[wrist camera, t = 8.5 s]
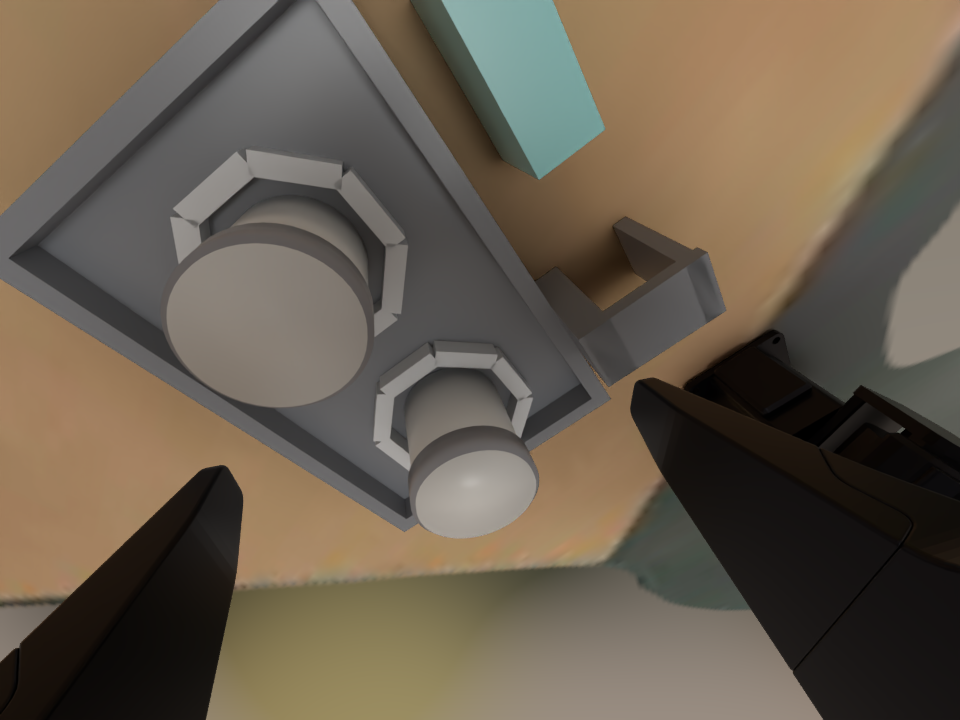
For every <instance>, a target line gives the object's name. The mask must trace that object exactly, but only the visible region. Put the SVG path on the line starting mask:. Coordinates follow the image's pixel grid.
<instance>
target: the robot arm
mask: <svg viewBox="0 0 960 720" xmlns="http://www.w3.org/2000/svg"><path fill="white" fill-rule="evenodd" d="M853 394H854V395H853V396H852V397H851V398H850V399H849V400H848V401H847V402H846V403H844V402H843V401H841V400H840V399H838V398H837V397H835V396H834V395H832V394H831V393H829V392H828V391H826V390H825V389H823V388H822V387H820V386H819V385H817V384H816V383H814V382H813V381H811V380H810V379H808V378H807V377H805V376H804V375H802V374H801V373H799V372H798V371H796V370H795V369H793V368H791V365H790V361H789V356H788V352H787V347H786V343H785V338H784V335H783V334H782V333H780V332H778V331H776V330H773V331H771V332H769V333H767V334H766V335H764V336H763V337H761V338H759V339H758V340H756V341H755V342H753V343H751V344H750V345H748V346H747V347H745V348H743V349H742V350H740V351H739V352H737V353H736V354H734V355H732V356H731V357H729V358H728V359H726V360H724V361H723V362H721V363H720V364H718V365H716V366H715V367H713V368H712V369H710V370H709V371H707V372H705V373H704V374H702V375H701V376H699V377H697V378H696V379H694V380H693V381H691V382H689V383H688V384H687V385H686V386H685V389H684V390H682V389H680V388H678V387H675V386H673V385H671V384H668V383H666V382H663V381H661V380H659V379H656V378H647V379H642V380H638V381H637V382H636V383H635V385H634V390H633V395H632V401H631V407H630V410H631V415H632V418H633V420H634V422H635V424H636V426H637V427H638V429H639V431H640V433H641V435H642V437H643V439H644V441H645V443H646V445H647V447H648V449H649V451H650V453H651V455H652V457H653V459H654V460H655V462H656V464H657V466H658V468H659V470H660V471H661V473H662V475H663V476H664V478H665V479H666V481H667V482H668V484H669V486H670V487H671V489H672V490H673V492H674V493H675V495H676V496H677V498H678V499H679V501H680V502H681V504H682V505H683V507H684V508H685V510H686V511H687V513H688V514H689V516H690V517H691V519H692V520H693V522H694V523H695V525H696V527H697V528H698V530H699V531H700V533H701V534H702V536H703V537H704V539H705V540H706V542H707V543H708V545H709V546H710V548H711V549H712V551H713V552H714V554H715V555H716V557H717V558H718V560H719V561H720V563H721V564H722V566H723V568H724V569H725V571H726V572H727V574H728V575H729V577H730V578H731V580H732V581H733V583H734V584H735V586H736V587H737V589H738V590H739V592H740V593H741V595H742V596H743V598H744V599H745V601H746V602H747V604H748V605H749V607H750V608H751V610H752V612H753V613H754V615H755V616H756V618H757V619H758V621H759V622H760V624H761V625H762V627H763V628H764V630H765V631H766V633H767V634H768V636H769V637H770V639H771V640H772V642H773V643H774V645H775V646H776V648H777V649H778V651H779V653H780V654H781V656H782V657H783V658H784V660H785V662H786V663H787V665H788V666H789V667H790V669H791V670H793V674H794V676H795V677H796V679H797V680H798V682H799V683H800V685H801V686H802V688H803V689H804V691H805V692H806V694H807V696H808V697H809V698H810V700H811V702H812V703H813V704H814V706H815V708H816V709H817V711H818V712H819V714H820V715H821V717H822V718H823V720H960V438H958V437H957V436H955V435H954V434H952V433H951V432H949V431H947V430H945V429H944V428H942V427H940V426H939V425H937V424H935V423H933V422H932V421H930V420H928V419H926V418H925V417H923V416H921V415H920V414H918V413H916V412H914V411H913V410H911V409H909V408H907V407H906V406H904V405H902V404H900V403H898V402H896V401H894V400H891V399H889V398H887V397H885V396H883V395H881V394H879V393H877V392H875V391H873V390H871V389H869V388H866V387H864V386H862V385H861V386H860V387H858V388H857V389H856V390H855V391H854V392H853ZM902 427H904V428H905V430H904V431H903V432H901V433H896V432H897V431H898V430H899V429H900V428H902ZM242 511H243V494H242V491H241V489H240V487H239V486H238V484H237V482H236V480H235V479H234V477H233V475H232V474H231V472H230V470H229V469H228V468H227V467H226V466H224V465H219V466H214V467H209V468H205V469H202V470H200V471H199V472H198V473H197V474H196V475H195V476H194V477H193V478H192V479H191V480H190V481H189V482H188V483H187V484H186V485H184V486H183V487H182V488H181V489H180V490H179V491H178V492H177V493H176V494H175V495H174V496H173V497H172V498H171V499H170V500H169V501H168V502H167V503H166V504H165V505H164V506H163V507H162V508H161V509H160V510H158V511H157V512H156V513H155V514H154V515H153V516H152V517H151V518H150V519H149V520H148V521H147V522H146V523H145V524H144V525H143V526H142V527H141V528H140V529H139V530H138V531H137V532H136V533H135V534H133V535H132V536H131V537H130V538H129V539H128V540H127V541H126V542H125V543H124V544H123V545H122V546H121V547H120V548H119V549H118V550H117V551H116V552H115V553H114V554H113V555H112V556H111V557H110V558H108V559H107V560H106V561H105V562H104V563H103V564H102V565H101V566H100V567H99V568H98V569H97V570H96V571H95V572H94V573H93V574H92V575H91V576H90V577H89V578H88V579H87V580H86V581H85V582H84V583H82V584H81V585H80V586H79V587H78V588H77V589H76V590H75V591H74V592H73V593H72V594H71V595H70V596H69V597H68V598H67V599H66V600H65V601H64V602H63V603H62V604H61V605H60V606H59V607H57V608H56V609H55V610H54V611H53V612H52V613H51V614H50V615H49V616H48V617H47V618H46V619H45V620H44V621H43V622H42V623H41V624H40V625H39V626H38V627H37V628H36V629H35V630H33V631H32V632H31V633H30V634H29V635H28V636H27V637H26V638H25V639H24V640H23V641H22V642H21V643H20V646H19V648H15V649H14V650H13V651H11V652H10V653H9V655H7V656H6V657H5V658H4V659H3V660H2V661H1V662H0V720H206V716H207V712H208V707H209V702H210V698H211V693H212V688H213V683H214V679H215V674H216V669H217V665H218V660H219V655H220V650H221V646H222V641H223V636H224V631H225V627H226V622H227V617H228V612H229V608H230V603H231V599H232V594H233V589H234V584H235V579H236V573H237V565H238V555H239V544H240V533H241V522H242Z"/></svg>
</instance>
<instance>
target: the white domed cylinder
mask: <svg viewBox="0 0 960 720" xmlns="http://www.w3.org/2000/svg"><path fill="white" fill-rule="evenodd" d="M160 315H161V322H162V328H163V331H164V334H165V337H166V340H167V342H168V344H169V346H170V348H171V350H172V351H173V353H174V354H175V356H176V357H177V359H178V360H179V361H180V362H181V364H182V365H183V366H184V367H185V368H186V369H187V370H188V371H189V372H190V373H191V374H192V375H193V376H194V377H195V378H196V379H198V380H199V381H201V382H202V383H203V384H205V385H206V386H208V387H209V388H211V389H213V390H214V391H216V392H218V393H220V394H222V395H224V396H226V397H229V398H231V399H234V400H237V401H239V402H242V403H246V404H250V405H254V406H260V407H267V408H296V407H303V406H308V405H312V404H316V403H319V402H321V401H324V400H327V399H329V398H331V397H333V396H335V395H337V394H338V393H340V392H342V391H343V390H345V389H346V388H347V387H348V386H350V385H351V384H352V383H353V382H354V381H355V380H356V379H357V378H358V377H359V375H360V374H361V373H362V371H363V370H364V368H365V367H366V365H367V363H368V361H369V359H370V356H371V353H372V349H373V345H374V306H373V300H372V296H371V293H370V290H369V287H368V257H367V252H366V248H365V245H364V243H363V240H362V238H361V236H360V235H359V233H358V231H357V230H356V228H355V227H354V226H353V225H352V223H351V222H350V221H349V220H348V219H347V218H346V217H345V216H344V215H342V214H341V213H340V212H339V211H337V210H336V209H334V208H333V207H331V206H329V205H328V204H325V203H323V202H321V201H319V200H316V199H313V198H309V197H305V196H298V195H281V196H276V197H271V198H268V199H265V200H263V201H261V202H259V203H257V204H255V205H254V206H252V207H251V208H250V209H248V210H247V211H246V212H245V213H244V214H243V215H242V216H241V217H240V218H239V219H238V220H237V221H236V222H235V223H234V224H233V225H232V226H231V227H230V228H228V229H225V230H222V231H220V232H218V233H216V234H214V235H212V236H211V237H209V238H208V239H206V240H205V241H204V242H202V243H201V244H200V245H199V246H198V247H197V248H195V249H194V250H193V251H192V252H191V253H190V254H189V255H188V256H187V257H186V258H184V259H183V261H182V262H181V263H180V264H179V265H178V266H177V267H176V268H175V269H174V271H173V272H172V274H171V275H170V277H169V278H168V280H167V283H166V285H165V287H164V290H163V294H162V299H161V310H160Z"/></svg>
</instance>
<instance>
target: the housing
mask: <svg viewBox="0 0 960 720" xmlns="http://www.w3.org/2000/svg"><path fill="white" fill-rule="evenodd" d="M281 195H298V196H305V197H309V198H313V199H316V200H319V201H321V202H323V203H325V204H328V205H329V206H331V207H333V208H334V209H336V210H337V211H339V212H340V213H341V214H342V215H344V216H345V217H346V218H347V219H348V220H349V221H350V222H351V223H352V225H353V226H354V227H355V228H356V230H357V231H358V233H359V235H360V236H361V238H362V240H363V243H364V245H365V248H366V252H367V257H368V287H369V290H370V293H371V296H372V300H373V306H374V345H373V349H372V353H371V356H370V359H369V361H368V363H367V365H366V367H365V368H364V370H363V371H362V373H361V374H360V375H359V377H358V378H357V379H356V380H355V381H354V382H353V383H352V384H351V385H350V386H348V387H347V388H346V389H345V390H343V391H342V392H340V393H338V394H337V395H335V396H333V397H331V398H329V399H327V400H324V401H321V402H319V403H316V404H312V405H308V406H303V407H296V408H267V407H260V406H254V405H250V404H246V403H242V402H239V401H237V400H234V399H231V398H229V397H226V396H224V395H222V394H220V393H218V392H216V391H214V390H213V389H211V388H209V387H208V386H206V385H205V384H203V383H202V382H201V381H199V380H198V379H196V378H195V377H194V376H193V375H192V374H191V373H190V372H189V371H188V370H187V369H186V368H185V367H184V366H183V365H182V364H181V362H180V361H179V360H178V359H177V357H176V356H175V354H174V353H173V351H172V350H171V348H170V346H169V344H168V342H167V340H166V337H165V334H164V331H163V328H162V322H161V315H160V310H161V299H162V294H163V290H164V287H165V285H166V283H167V280H168V278H169V277H170V275H171V274H172V272H173V271H174V269H175V268H176V267H177V266H178V265H179V264H180V263H181V262H182V261H183V259H184V258H186V257H187V256H188V255H189V254H190V253H191V252H192V251H193V250H194V249H195V248H197V247H198V246H199V245H200V244H201V243H202V242H204V241H205V240H206V239H208V238H209V237H211V236H212V235H214V234H216V233H218V232H220V231H222V230H225V229H228V228H230V227H231V226H232V225H233V224H234V223H235V222H236V221H237V220H238V219H239V218H240V217H241V216H242V215H243V214H244V213H245V212H246V211H247V210H248V209H250V208H251V207H252V206H254V205H255V204H257V203H259V202H261V201H263V200H265V199H268V198H271V197H276V196H281ZM613 227H614V229H615V231H616V234H617V236H618V238H619V240H620V242H621V244H622V247H623V249H624V251H625V253H626V255H627V257H628V259H629V262H630V264H631V266H632V268H633V270H634V272H635V274H637V275H638V276H640V277H641V278H643V279H644V280H645V281H647V282H645V283H644V284H642V285H641V286H640V287H638V288H637V289H635V290H634V291H632V292H631V293H629V294H628V295H626V296H625V297H623V298H622V299H621V300H619V301H618V302H616V303H615V304H613V305H612V306H610V307H609V308H607V309H606V310H605V311H602V310H601V309H600V308H599V307H598V306H597V305H596V304H595V303H593V302H592V301H591V300H590V299H589V298H588V297H587V296H586V295H585V294H584V293H583V292H582V291H581V290H580V289H579V288H578V287H577V286H576V285H575V284H574V283H573V282H572V281H571V280H570V279H568V278H567V277H566V276H565V275H564V274H563V273H562V272H561V271H560V270H559V269H558V268H557V267H555V268H553V269H552V270H551V271H549V272H548V273H546V274H545V275H544V276H542V277H541V278H539V279H538V280H537V281H534V280H533V278H532V277H531V275H530V274H529V272H528V271H527V269H526V268H525V266H524V264H523V263H522V261H521V260H520V258H519V257H518V255H517V254H516V252H515V251H514V249H513V248H512V246H511V244H510V243H509V241H508V240H507V238H506V237H505V235H504V234H503V232H502V231H501V229H500V228H499V226H498V224H497V223H496V221H495V220H494V218H493V217H492V215H491V214H490V212H489V211H488V209H487V208H486V206H485V204H484V203H483V201H482V200H481V198H480V197H479V195H478V194H477V192H476V191H475V189H474V187H473V186H472V184H471V183H470V181H469V180H468V178H467V177H466V175H465V174H464V172H463V171H462V169H461V167H460V166H459V164H458V163H457V161H456V160H455V158H454V157H453V155H452V154H451V152H450V151H449V149H448V147H447V146H446V144H445V143H444V141H443V140H442V138H441V137H440V135H439V134H438V132H437V131H436V129H435V127H434V126H433V124H432V123H431V121H430V120H429V118H428V117H427V115H426V114H425V112H424V111H423V109H422V107H421V106H420V104H419V103H418V101H417V100H416V98H415V97H414V95H413V94H412V92H411V91H410V89H409V87H408V86H407V84H406V83H405V81H404V80H403V78H402V77H401V75H400V74H399V72H398V71H397V69H396V67H395V66H394V64H393V63H392V61H391V60H390V58H389V57H388V55H387V54H386V52H385V50H384V49H383V47H382V46H381V44H380V43H379V41H378V40H377V38H376V37H375V35H374V34H373V32H372V30H371V29H370V27H369V26H368V24H367V23H366V21H365V20H364V18H363V17H362V15H361V14H360V12H359V10H358V9H357V7H356V6H355V4H354V3H353V1H352V0H219V1H218V2H217V3H216V4H215V5H214V6H213V7H212V8H211V9H210V10H209V11H208V12H207V13H206V14H205V15H204V16H203V17H202V18H201V19H200V20H199V21H198V22H197V23H196V24H195V25H194V26H193V27H192V28H191V29H190V30H189V31H188V32H187V33H186V34H185V35H184V36H183V37H182V38H181V39H180V40H179V41H178V42H177V43H175V44H174V45H173V46H172V47H171V48H170V49H169V50H168V51H167V52H166V53H165V54H164V55H163V56H162V57H161V58H160V59H159V60H158V61H157V62H156V63H155V64H154V65H153V66H152V67H151V68H150V69H149V70H148V71H147V72H146V73H145V74H144V75H143V76H142V77H141V78H140V79H139V80H138V81H137V82H136V83H135V84H134V85H133V86H132V87H131V88H130V89H129V90H128V91H127V92H126V93H125V94H124V95H123V96H122V97H121V98H120V99H119V100H118V101H117V102H116V103H115V104H113V105H112V106H111V107H110V108H109V109H108V110H107V111H106V112H105V113H104V114H103V115H102V116H101V117H100V118H99V119H98V120H97V121H96V122H95V123H94V124H93V125H92V126H91V127H90V128H89V129H88V130H87V131H86V132H85V133H84V134H83V135H82V136H81V137H80V138H79V139H78V140H77V141H76V142H75V143H74V144H73V145H72V146H71V147H70V148H69V149H68V150H67V151H66V152H65V153H64V154H63V155H62V156H61V157H60V158H59V159H58V160H57V161H56V162H55V163H54V164H53V165H52V166H50V167H49V168H48V169H47V170H46V171H45V172H44V173H43V174H42V175H41V176H40V177H39V178H38V179H37V180H36V181H35V182H34V183H33V184H32V185H31V186H30V187H29V188H28V189H27V190H26V191H25V192H24V193H23V194H22V195H21V196H20V197H19V198H18V199H17V200H16V201H15V202H14V203H13V204H12V205H11V206H10V207H9V208H8V209H7V210H6V211H5V212H4V213H3V214H2V215H1V216H0V279H2V280H3V281H5V282H6V283H8V284H9V285H11V286H13V287H14V288H16V289H17V290H19V291H21V292H22V293H24V294H25V295H27V296H29V297H30V298H32V299H33V300H35V301H37V302H38V303H40V304H41V305H43V306H45V307H46V308H48V309H49V310H51V311H53V312H54V313H56V314H57V315H59V316H61V317H62V318H64V319H65V320H67V321H69V322H70V323H72V324H73V325H75V326H77V327H78V328H80V329H81V330H83V331H84V332H86V333H88V334H89V335H91V336H92V337H94V338H96V339H97V340H99V341H100V342H102V343H104V344H105V345H107V346H108V347H110V348H112V349H113V350H115V351H116V352H118V353H120V354H121V355H123V356H124V357H126V358H128V359H129V360H131V361H132V362H134V363H136V364H137V365H139V366H140V367H142V368H144V369H145V370H147V371H148V372H150V373H152V374H153V375H155V376H156V377H158V378H159V379H161V380H163V381H164V382H166V383H167V384H169V385H171V386H172V387H174V388H175V389H177V390H179V391H180V392H182V393H183V394H185V395H187V396H188V397H190V398H191V399H193V400H195V401H196V402H198V403H199V404H201V405H203V406H204V407H206V408H207V409H209V410H211V411H212V412H214V413H215V414H217V415H219V416H220V417H222V418H223V419H225V420H227V421H228V422H230V423H231V424H233V425H234V426H236V427H238V428H239V429H241V430H242V431H244V432H246V433H247V434H249V435H250V436H252V437H254V438H255V439H257V440H258V441H260V442H262V443H263V444H265V445H266V446H268V447H270V448H271V449H273V450H274V451H276V452H278V453H279V454H281V455H282V456H284V457H286V458H287V459H289V460H290V461H292V462H294V463H295V464H297V465H298V466H300V467H302V468H303V469H305V470H306V471H308V472H310V473H311V474H313V475H314V476H316V477H317V478H319V479H321V480H322V481H324V482H325V483H327V484H329V485H330V486H332V487H333V488H335V489H337V490H338V491H340V492H341V493H343V494H345V495H346V496H348V497H349V498H351V499H353V500H354V501H356V502H357V503H359V504H361V505H362V506H364V507H365V508H367V509H369V510H370V511H372V512H373V513H375V514H377V515H378V516H380V517H381V518H383V519H385V520H386V521H388V522H389V523H391V524H392V525H394V526H396V527H397V528H399V529H400V530H402V531H404V532H405V531H407V530H408V529H410V528H411V527H413V526H415V525H416V524H418V522H417V521H416V520H415V518H414V516H413V514H412V511H411V505H410V496H409V487H408V474H409V470H410V467H411V464H410V456H409V447H408V439H407V431H406V423H405V415H404V406H405V401H406V399H407V396H408V395H409V393H410V391H411V390H412V388H413V387H414V386H415V385H416V384H417V383H418V382H419V381H420V380H422V379H423V378H425V377H426V376H428V375H430V374H432V373H434V372H436V371H439V370H442V369H446V368H453V367H460V368H469V369H473V370H476V371H479V372H481V373H483V374H484V375H486V376H487V377H488V378H489V379H490V380H491V381H492V382H493V384H494V385H495V387H496V389H497V391H498V394H499V396H500V398H501V400H502V403H503V405H504V407H505V409H506V412H507V414H508V416H509V419H510V421H511V423H512V425H513V428H514V430H515V432H516V434H517V436H518V437H520V438H521V439H522V440H523V442H524V443H525V444H526V446H527V448H528V450H529V452H530V451H531V450H533V449H534V448H536V447H537V446H539V445H540V444H542V443H543V442H545V441H547V440H548V439H550V438H551V437H553V436H554V435H556V434H557V433H559V432H561V431H562V430H564V429H565V428H567V427H568V426H570V425H571V424H573V423H575V422H576V421H578V420H579V419H581V418H582V417H584V416H585V415H587V414H589V413H590V412H592V411H593V410H595V409H596V408H598V407H599V406H601V405H602V404H604V403H606V402H607V401H609V400H610V399H611V398H610V397H609V395H608V394H607V392H606V391H605V389H604V388H603V386H602V385H601V383H600V381H599V380H598V378H597V377H596V375H595V374H594V372H593V371H592V369H591V368H590V366H589V365H588V363H587V361H588V362H589V363H590V364H591V366H592V367H593V368H594V369H595V371H596V372H597V373H598V374H599V376H600V377H601V378H602V379H603V381H604V382H605V383H606V385H607V386H608V387H610V386H611V385H613V384H614V383H616V382H617V381H619V380H620V379H622V378H623V377H625V376H627V375H628V374H630V373H631V372H633V371H634V370H636V369H637V368H639V367H640V366H642V365H643V364H645V363H647V362H648V361H650V360H651V359H653V358H654V357H656V356H657V355H659V354H660V353H662V352H663V351H665V350H667V349H668V348H670V347H671V346H673V345H674V344H676V343H677V342H679V341H680V340H682V339H683V338H685V337H687V336H688V335H690V334H691V333H693V332H694V331H696V330H697V329H699V328H700V327H702V326H703V325H705V324H707V323H708V322H710V321H711V320H713V319H714V318H716V317H717V316H719V315H720V314H722V313H723V312H725V311H726V308H725V305H724V301H723V298H722V295H721V292H720V289H719V286H718V283H717V280H716V277H715V274H714V271H713V268H712V264H711V261H710V258H709V255H708V252H706V251H704V250H702V249H700V248H695V249H694V250H692V249H690V248H688V247H686V246H684V245H682V244H680V243H678V242H676V241H674V240H672V239H670V238H668V237H666V236H664V235H662V234H660V233H658V232H656V231H654V230H652V229H650V228H648V227H646V226H644V225H642V224H640V223H638V222H636V221H634V220H632V219H630V218H628V217H624V218H623V219H621V220H620V221H619V222H617V223H616V224H615V225H613ZM581 353H582V354H583V355H582V354H581ZM583 356H584V357H585V358H586V359H587V361H586V360H585V358H584V357H583Z"/></svg>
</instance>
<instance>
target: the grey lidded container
mask: <svg viewBox="0 0 960 720" xmlns="http://www.w3.org/2000/svg"><path fill="white" fill-rule="evenodd" d="M404 415H405V423H406V431H407V439H408V447H409V456H410V464H411V467H410V470H409V474H408V487H409V496H410V505H411V511H412V514H413V516H414V518H415V520H416V521H417V522H418V523H419V524H420V525H421V526H422V527H423V528H424V529H426V530H428V531H430V532H432V533H435V534H437V535H440V536H444V537H449V538H472V537H478V536H482V535H486V534H489V533H492V532H495V531H497V530H499V529H501V528H503V527H505V526H507V525H508V524H510V523H511V522H513V521H514V520H516V519H517V518H518V517H519V516H520V515H521V514H522V513H523V512H524V511H525V510H526V509H527V508H528V506H529V505H530V504H531V502H532V501H533V499H534V497H535V495H536V493H537V490H538V487H539V474H538V470H537V468H536V466H535V464H534V461H533V459H532V457H531V455H530V452H529V450H528V448H527V446H526V444H525V443H524V442H523V440H522V439H521V438H520V437H518V436H517V434H516V432H515V430H514V428H513V425H512V423H511V421H510V419H509V416H508V414H507V412H506V409H505V407H504V405H503V403H502V400H501V398H500V396H499V394H498V391H497V389H496V387H495V385H494V384H493V382H492V381H491V380H490V379H489V378H488V377H487V376H486V375H484V374H483V373H481V372H479V371H476V370H473V369H469V368H460V367H453V368H446V369H442V370H439V371H436V372H434V373H432V374H430V375H428V376H426V377H425V378H423V379H422V380H420V381H419V382H418V383H417V384H416V385H415V386H414V387H413V388H412V390H411V391H410V393H409V395H408V396H407V399H406V401H405V406H404Z"/></svg>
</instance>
